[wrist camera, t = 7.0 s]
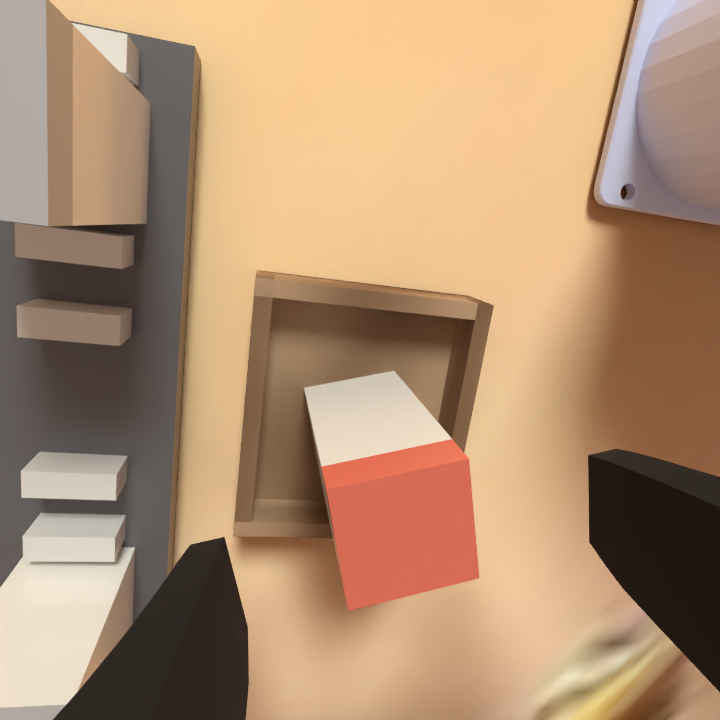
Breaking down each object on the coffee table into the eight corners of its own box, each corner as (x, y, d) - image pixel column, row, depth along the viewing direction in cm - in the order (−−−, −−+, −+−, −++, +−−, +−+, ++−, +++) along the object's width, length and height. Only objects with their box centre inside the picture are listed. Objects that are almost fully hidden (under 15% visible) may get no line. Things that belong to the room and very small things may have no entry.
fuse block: (200, 60, 14) (187, 29, 12) (168, 635, 19) (155, 693, 16) (-3, 20, 13) (-61, -23, 11) (16, 638, 18) (-22, 701, 15)
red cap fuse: (394, 370, 17) (468, 458, 11) (404, 452, 18) (479, 578, 11) (303, 387, 16) (326, 489, 10) (319, 470, 17) (348, 610, 11)
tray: (468, 295, 17) (493, 305, 15) (428, 508, 19) (446, 539, 17) (257, 270, 16) (255, 277, 14) (236, 502, 18) (233, 536, 16)
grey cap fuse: (150, 102, 13) (45, -3, 7) (146, 223, 14) (47, 225, 8) (20, 80, 12) (-225, -60, 6) (23, 207, 13) (-193, 195, 7)
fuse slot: (135, 547, 16) (53, 750, 10) (132, 626, 17) (55, 861, 11) (30, 546, 16) (-126, 761, 9) (32, 628, 16) (-113, 879, 10)
